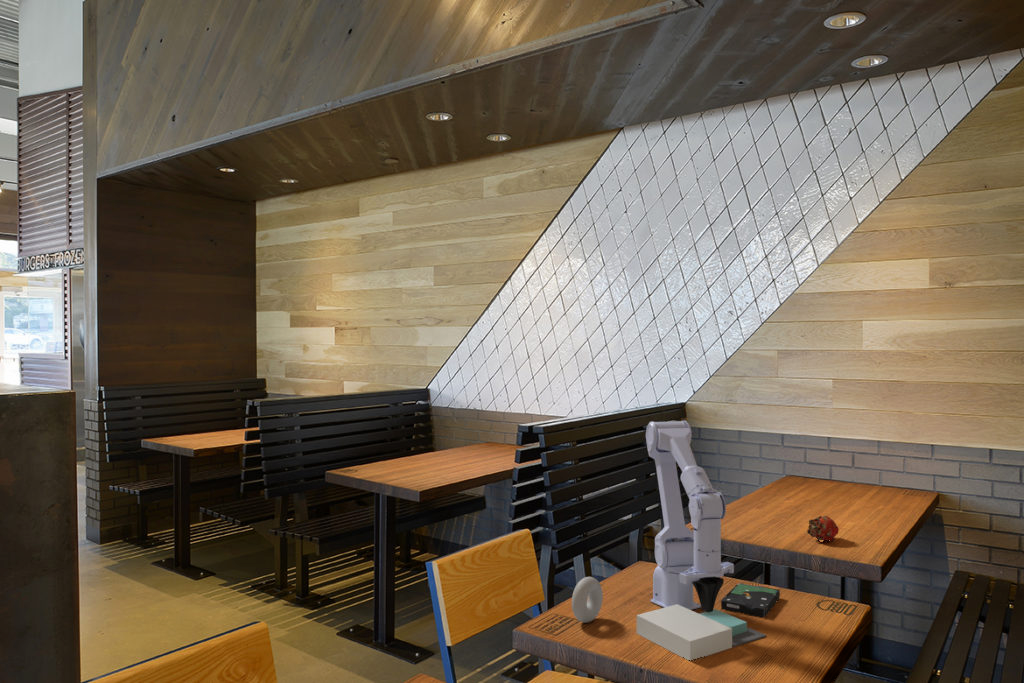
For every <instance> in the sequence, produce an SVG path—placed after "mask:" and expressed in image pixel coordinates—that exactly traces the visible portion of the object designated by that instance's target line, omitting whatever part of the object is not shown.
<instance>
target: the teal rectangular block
mask: <svg viewBox="0 0 1024 683" xmlns="http://www.w3.org/2000/svg"><path fill="white" fill-rule="evenodd" d="M699 614H700V615H703V616H705V617H707V618H710V619H712V620H714V621H716V622H719V623H721V624H723V625H725V626H728V627H730V628H732V636H734V635H737V634H740V633H743V632H747V627H748V622H747V621H745V620H743V619H740V618H738V617H736V616H733V615H731V614H729V613H726V612H723V611H721V610H720V609H719V610H718V609H716V608H715V609H714V608H713V611H712V612H709V613H708V612H706V611H703V612H700V613H699Z"/></svg>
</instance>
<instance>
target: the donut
mask: <svg viewBox="0 0 1024 683" xmlns="http://www.w3.org/2000/svg"><path fill="white" fill-rule="evenodd" d="M603 593H604V592H603V588H602V586H601V584H600V582H599V581H598V580H597V578H594V577H592V576H585V577H583V578H581V579H580V580H579V581H578V582H577V583H576V585H575V587H574V590H573V593H572V597H571V610H572V613H573V615H574V617H575V618H576V620H577V621H578V622H581V623H590V622H592V621H593V620H595V619H596V618H597V616H598V615H599V613H600V611H601V608H602V605H603V599H604V598H603V596H604V595H603Z"/></svg>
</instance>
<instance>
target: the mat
mask: <svg viewBox="0 0 1024 683" xmlns="http://www.w3.org/2000/svg"><path fill="white" fill-rule="evenodd" d="M765 637H767V634H765V633H762V632H761V631H758V630H756V629H753V628H751V627H749V626H747V632H743V633H740V634H737V635H734V636H732V648H735V647H738V646H741V645H744V644H748V643H751V642H753V641H757V640H759V639H763V638H765Z"/></svg>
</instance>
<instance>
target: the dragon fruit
mask: <svg viewBox="0 0 1024 683" xmlns="http://www.w3.org/2000/svg"><path fill="white" fill-rule="evenodd" d="M808 524H809V525H808V526H807V527H808V529H807V530H806V533H807V534H808V535H810V536H811V537H812V538H814V537H816V538H817V539H818V540H825V541H826V540H830V541H831V542H834V541H835V538H836V536H837V535H838V534H839V527H838V525H837V523H836V522H835V520H833V519H831V517H830V516H828V515H823V516H821V515H820V516H817V517H815V518H814V519H809V520H808Z"/></svg>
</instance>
